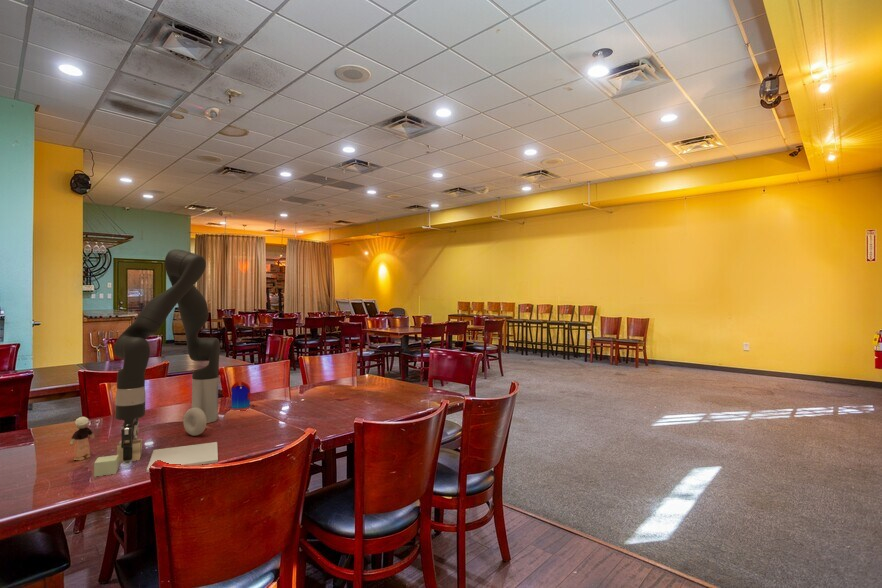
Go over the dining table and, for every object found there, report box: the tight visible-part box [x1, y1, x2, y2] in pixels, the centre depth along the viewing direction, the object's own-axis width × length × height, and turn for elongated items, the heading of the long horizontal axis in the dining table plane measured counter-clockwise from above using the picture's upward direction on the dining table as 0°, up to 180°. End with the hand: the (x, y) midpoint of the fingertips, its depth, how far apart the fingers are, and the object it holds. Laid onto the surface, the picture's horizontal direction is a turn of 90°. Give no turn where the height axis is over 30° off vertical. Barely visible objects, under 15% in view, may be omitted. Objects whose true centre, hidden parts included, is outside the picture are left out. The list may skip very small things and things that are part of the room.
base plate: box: [146, 441, 219, 473], centre depth 136 cm, size 18×18×1 cm
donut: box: [182, 407, 208, 437], centre depth 158 cm, size 10×4×10 cm, turn 66°
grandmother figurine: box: [69, 416, 96, 461], centre depth 134 cm, size 8×4×13 cm, turn 5°
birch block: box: [116, 438, 143, 464], centre depth 135 cm, size 6×6×5 cm
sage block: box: [93, 454, 120, 478], centre depth 124 cm, size 5×5×4 cm
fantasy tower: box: [222, 381, 258, 412], centre depth 197 cm, size 12×12×12 cm
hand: (129, 456), depth 135 cm, fingers open, 6 cm apart
